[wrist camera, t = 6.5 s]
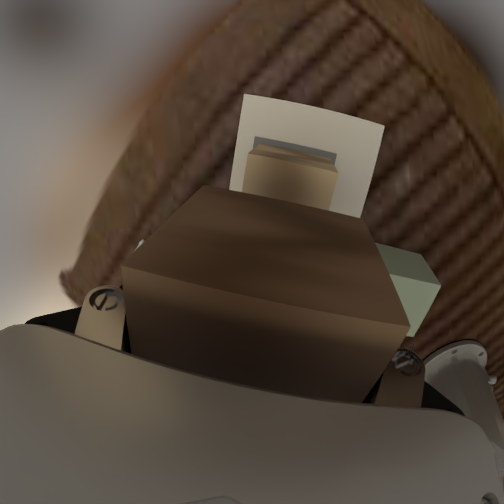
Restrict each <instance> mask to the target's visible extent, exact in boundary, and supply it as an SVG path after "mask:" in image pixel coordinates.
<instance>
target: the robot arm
mask: <svg viewBox="0 0 504 504" xmlns="http://www.w3.org/2000/svg"><path fill="white" fill-rule="evenodd" d="M486 362H487V353H486V351H485V349H484V347H483V345H481V344H480V343H479V342H476V341H472V340H464V341H459V342H454V343H452V344H449V345H447V346H445V347H443V348H441V349H439V350H437V351H436V352H434V353H433V354H431V355H430V356H429V357H427V358H426V359H425V360H424V361H422V359H421V358H420V357H419V356H418V355H417V354H416V353H414V352H412V351H411V350H408V349H405V348H398V350H397V351H396V353H395V354H394V356H393V358H392V359H391V361H390V362H389V364H388V365H387V367H386V368H385V370H384V371H383V373H382V374H381V376H380V377H379V379H378V380H377V382H376V383H375V385H374V386H373V388H372V389H371V390H370V392H369V393H368V395H367V396H366V397H365V399H364V400H363V401H362V403H356V402H346V401H337V400H329V399H322V398H314V397H308V396H301V395H295V394H289V393H283V392H277V391H272V390H267V389H261V388H256V387H252V386H247V385H242V384H238V383H233V382H229V381H224V380H220V379H216V378H212V377H208V376H204V375H200V374H197V373H193V372H189V371H185V370H182V369H178V368H175V367H171V366H168V365H164V364H161V363H158V362H155V361H151V360H148V359H145V358H142V357H139V356H136V355H133V354H132V353H131V346H130V340H129V333H128V326H127V319H126V311H125V303H124V294H123V284H122V285H121V286H120V288H118V287H115V286H101V287H97V288H95V289H93V290H91V291H90V292H89V293H88V294H87V295H86V297H85V299H84V303H83V306H82V307H78V308H74V309H70V310H66V311H61V312H57V313H53V314H48V315H43V316H39V317H35V318H32V319H30V320H29V321H27V322H26V323H25V324H19V325H13V326H10V327H7V328H5V329H3V330H1V331H0V504H504V420H503V417H502V415H501V412H500V409H499V407H498V404H497V401H496V399H495V396H494V394H493V386H492V385H490V384H495V383H496V380H497V378H496V376H488V374H487V372H486V370H485V366H486Z"/></svg>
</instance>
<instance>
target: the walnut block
mask: <svg viewBox="0 0 504 504" xmlns="http://www.w3.org/2000/svg"><path fill="white" fill-rule="evenodd" d="M121 272H122V284H123V294H124V303H125V311H126V319H127V326H128V333H129V340H130V346H131V353H132V354H133V355H136V356H139V357H142V358H145V359H148V360H151V361H155V362H158V363H161V364H164V365H168V366H171V367H175V368H178V369H182V370H185V371H189V372H193V373H197V374H200V375H204V376H208V377H212V378H216V379H220V380H224V381H229V382H233V383H238V384H242V385H247V386H252V387H256V388H261V389H267V390H272V391H277V392H283V393H289V394H295V395H301V396H308V397H314V398H322V399H329V400H337V401H346V402H356V403H362V401H363V400H364V399H365V397H366V396H367V395H368V393H369V392H370V390H371V389H372V388H373V386H374V385H375V383H376V382H377V380H378V379H379V377H380V376H381V374H382V373H383V371H384V370H385V368H386V367H387V365H388V364H389V362H390V361H391V359H392V358H393V356H394V354H395V353H396V351H397V350H398V348H399V346H400V345H401V343H402V341H403V340H404V338H405V336H406V335H407V333H408V331H409V329H410V328H411V326H410V323H409V320H408V318H407V315H406V313H405V310H404V308H403V305H402V303H401V300H400V298H399V295H398V293H397V291H396V288H395V286H394V284H393V281H392V279H391V277H390V274H389V272H388V270H387V268H386V266H385V263H384V261H383V259H382V257H381V255H380V252H379V250H378V248H377V246H376V244H375V242H374V240H373V238H372V236H371V234H370V232H369V230H368V228H367V226H366V224H365V222H364V220H363V219H361V218H357V217H353V216H349V215H345V214H341V213H337V212H332V211H328V210H324V209H320V208H315V207H311V206H306V205H302V204H297V203H293V202H288V201H283V200H279V199H274V198H269V197H264V196H259V195H254V194H249V193H244V192H239V191H233V190H228V189H223V188H217V187H212V186H206V185H204V186H203V187H202V188H200V189H199V190H198V191H197V192H196V193H195V194H194V195H193V196H192V197H191V198H189V199H188V200H187V201H186V202H185V203H184V204H183V205H182V206H181V207H180V208H179V209H178V210H177V211H175V212H174V213H173V214H172V215H171V216H170V217H169V218H168V219H167V220H166V221H165V222H164V223H163V224H162V225H161V226H160V227H159V228H158V229H157V230H156V231H155V232H154V233H152V234H151V235H150V236H149V237H148V238H147V239H146V240H145V241H144V242H143V243H142V244H141V245H140V246H139V247H138V248H137V249H136V250H135V251H134V252H133V253H132V254H131V255H130V256H129V258H128V259H127V260H126V261H125V262H124V263H123V264H122V265H121Z"/></svg>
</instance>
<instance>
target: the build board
mask: <svg viewBox="0 0 504 504" xmlns="http://www.w3.org/2000/svg"><path fill="white" fill-rule="evenodd" d="M384 127H385V126H383V125H380V124H377V123H374V122H371V121H367V120H364V119H360V118H357V117H353V116H350V115H346V114H342V113H338V112H334V111H330V110H326V109H322V108H318V107H313V106H309V105H304V104H300V103H295V102H290V101H284V100H279V99H273V98H267V97H261V96H255V95H248V94H244V98H243V104H242V110H241V117H240V123H239V129H238V135H237V142H236V148H235V155H234V161H233V168H232V175H231V181H230V188H229V190H233V191H239V192H242V187H243V180H244V174H245V168H246V162H247V156H248V153H249V152H250V151H251V150H252V149H253V148H255V147H256V146H257V145H258V144H259V143H262V144H267V145H273V146H278V147H283V148H288V149H292V150H297V151H302V152H306V153H310V154H315V155H319V156H323V157H327V158H330V159H331V161H332V162H333V164H334V166H335V168H336V169H337V171H338V177H337V181H336V185H335V189H334V193H333V197H332V200H331V204H330V208H329V211H332V212H337V213H341V214H345V215H349V216H353V217H357V218H360V216H361V213H362V210H363V206H364V203H365V200H366V196H367V193H368V189H369V186H370V182H371V178H372V175H373V171H374V167H375V163H376V160H377V156H378V152H379V148H380V144H381V139H382V135H383V131H384Z"/></svg>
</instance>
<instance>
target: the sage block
mask: <svg viewBox="0 0 504 504" xmlns="http://www.w3.org/2000/svg"><path fill="white" fill-rule="evenodd" d="M375 244H376V246H377V248H378V250H379V252H380V255H381V257H382V259H383V261H384V263H385V266H386V268H387V270H388V272H389V274H390V277H391V279H392V281H393V284H394V286H395V288H396V291H397V293H398V295H399V298H400V300H401V303H402V305H403V308H404V310H405V313H406V315H407V318H408V320H409V323H410V326H411V328H410V329H409V331H408V333H407V335H406V336H411V337H413V336H414V335H415V333H416V331H417V330H418V328H419V326H420V324H421V323H422V321H423V319H424V317H425V316H426V314H427V312H428V310H429V308H430V306H431V305H432V303H433V301H434V299H435V297H436V295H437V293H438V291H439V289H440V287H441V284H440V283H439V281H438V280H437V278H436V276H435V275H434V273H433V272H432V270H431V269H430V267H429V266H428V264H427V263H426V261H425V260H424V258H423V257H422V255H421V254H418V253H414V252H410V251H406V250H402V249H399V248H395V247H391V246H387V245H383V244H379V243H375Z"/></svg>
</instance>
